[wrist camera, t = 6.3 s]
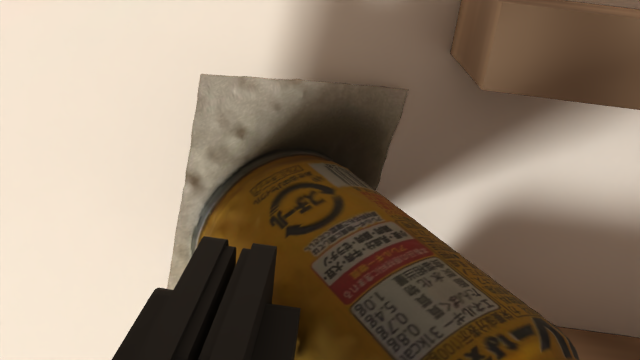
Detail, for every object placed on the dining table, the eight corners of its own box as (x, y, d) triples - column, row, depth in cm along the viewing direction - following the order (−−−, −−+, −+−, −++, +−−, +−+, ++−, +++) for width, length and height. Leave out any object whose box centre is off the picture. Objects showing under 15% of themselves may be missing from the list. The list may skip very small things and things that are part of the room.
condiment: (160, 330, 17) (416, 826, 8) (198, 71, 13) (689, 467, 5) (339, 289, 21) (626, 589, 13) (401, 86, 18) (847, 311, 9)
